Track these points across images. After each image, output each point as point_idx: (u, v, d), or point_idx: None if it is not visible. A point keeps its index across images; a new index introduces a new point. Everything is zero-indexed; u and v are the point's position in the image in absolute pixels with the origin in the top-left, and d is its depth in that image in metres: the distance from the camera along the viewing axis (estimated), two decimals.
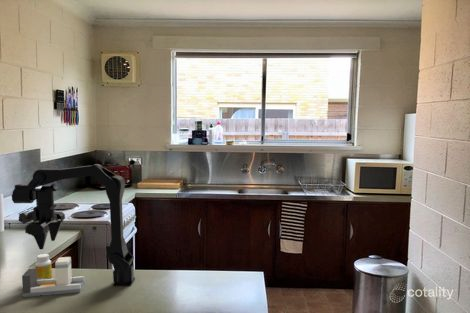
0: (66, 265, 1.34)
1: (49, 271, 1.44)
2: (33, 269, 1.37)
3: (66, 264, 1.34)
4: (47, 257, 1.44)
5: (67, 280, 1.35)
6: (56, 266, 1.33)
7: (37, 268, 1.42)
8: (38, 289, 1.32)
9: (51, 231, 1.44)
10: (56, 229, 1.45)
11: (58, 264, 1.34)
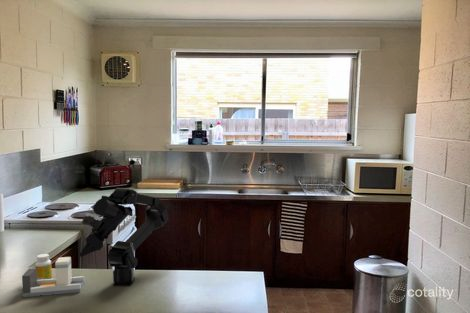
0: (66, 265, 1.34)
1: (49, 271, 1.44)
2: (33, 269, 1.37)
3: (66, 264, 1.34)
4: (47, 257, 1.44)
5: (67, 280, 1.35)
6: (56, 266, 1.33)
7: (37, 268, 1.42)
8: (38, 289, 1.32)
9: None
10: None
11: (58, 264, 1.34)
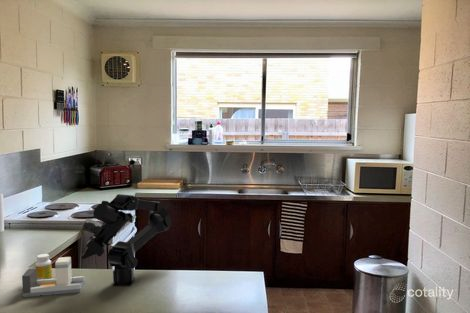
0: (66, 265, 1.34)
1: (49, 271, 1.44)
2: (33, 269, 1.37)
3: (66, 264, 1.34)
4: (47, 257, 1.44)
5: (67, 280, 1.35)
6: (56, 266, 1.33)
7: (37, 268, 1.42)
8: (38, 289, 1.32)
9: None
10: None
11: (58, 264, 1.34)
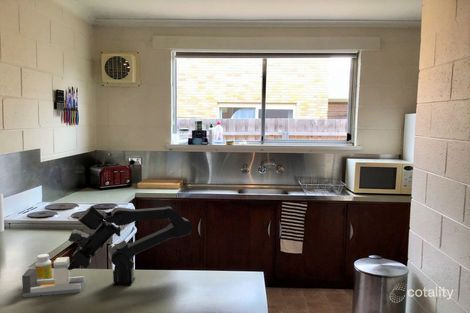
0: (64, 265, 1.34)
1: (49, 271, 1.44)
2: (33, 269, 1.37)
3: (64, 264, 1.34)
4: (47, 257, 1.44)
5: (65, 280, 1.34)
6: (54, 266, 1.33)
7: (37, 268, 1.42)
8: (38, 289, 1.32)
9: None
10: None
11: (56, 264, 1.33)
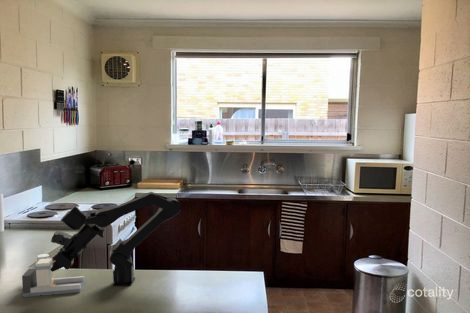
0: (47, 266, 1.33)
1: None
2: (33, 269, 1.37)
3: (47, 265, 1.33)
4: (47, 257, 1.44)
5: (48, 282, 1.33)
6: (37, 267, 1.32)
7: None
8: (38, 289, 1.32)
9: None
10: None
11: (39, 265, 1.32)
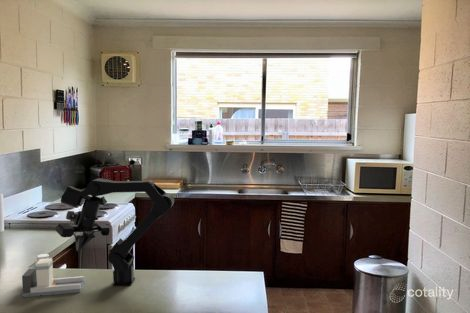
0: (47, 266, 1.33)
1: None
2: (33, 269, 1.37)
3: (47, 265, 1.33)
4: (47, 257, 1.44)
5: (48, 282, 1.33)
6: (37, 267, 1.32)
7: None
8: (38, 289, 1.32)
9: None
10: (84, 241, 1.41)
11: (39, 265, 1.32)
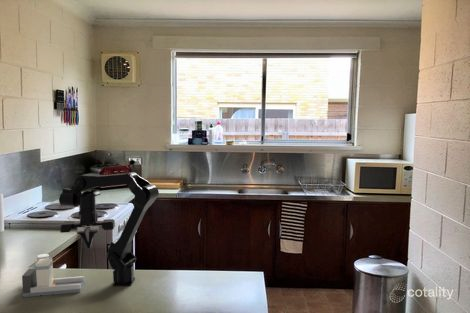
0: (47, 266, 1.33)
1: None
2: (33, 269, 1.37)
3: (47, 265, 1.33)
4: (47, 257, 1.44)
5: (48, 282, 1.33)
6: (37, 267, 1.32)
7: None
8: (38, 289, 1.32)
9: None
10: None
11: (39, 265, 1.32)
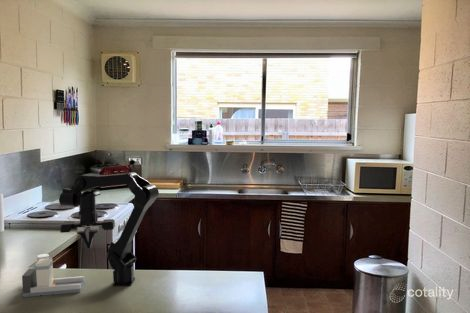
0: (47, 266, 1.33)
1: None
2: (33, 269, 1.37)
3: (47, 265, 1.33)
4: (47, 257, 1.44)
5: (48, 282, 1.33)
6: (37, 267, 1.32)
7: None
8: (38, 289, 1.32)
9: None
10: None
11: (39, 265, 1.32)
